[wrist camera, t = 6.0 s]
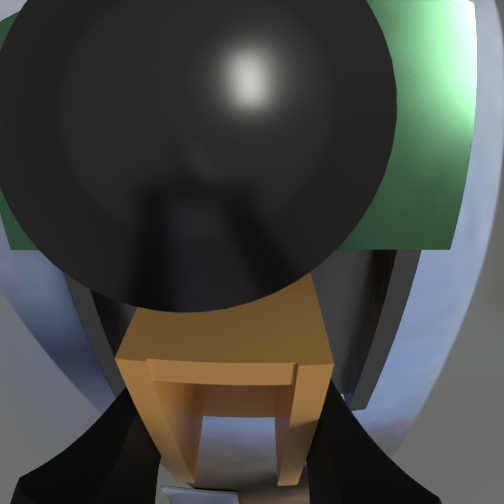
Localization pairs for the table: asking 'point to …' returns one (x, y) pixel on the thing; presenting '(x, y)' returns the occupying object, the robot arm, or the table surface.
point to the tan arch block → (230, 374)
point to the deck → (238, 156)
